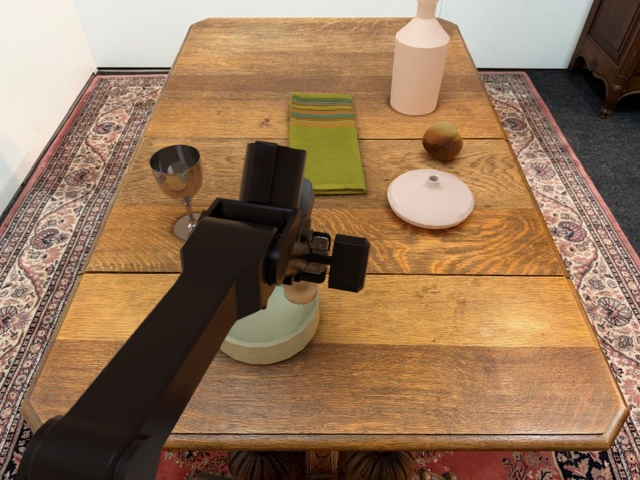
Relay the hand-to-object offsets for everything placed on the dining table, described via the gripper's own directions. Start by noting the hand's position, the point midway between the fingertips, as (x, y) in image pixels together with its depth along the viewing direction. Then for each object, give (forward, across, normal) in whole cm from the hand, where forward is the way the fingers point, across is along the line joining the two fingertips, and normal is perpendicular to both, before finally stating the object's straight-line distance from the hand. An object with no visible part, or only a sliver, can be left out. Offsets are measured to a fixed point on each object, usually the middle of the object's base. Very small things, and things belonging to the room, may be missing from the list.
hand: (301, 252), depth 63 cm
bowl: (+8, +6, +11) cm, 15 cm away
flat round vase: (+30, -17, -10) cm, 35 cm away
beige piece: (+4, 0, +6) cm, 7 cm away
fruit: (+41, -18, -22) cm, 50 cm away
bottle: (+57, -11, -38) cm, 69 cm away
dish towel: (+41, +7, -22) cm, 48 cm away
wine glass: (+20, +24, 0) cm, 31 cm away
